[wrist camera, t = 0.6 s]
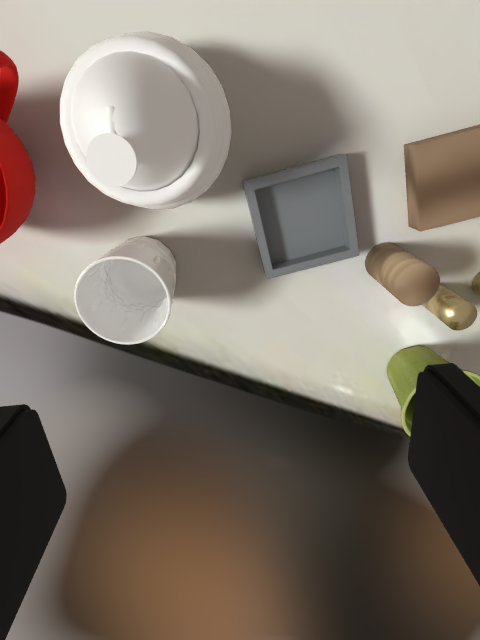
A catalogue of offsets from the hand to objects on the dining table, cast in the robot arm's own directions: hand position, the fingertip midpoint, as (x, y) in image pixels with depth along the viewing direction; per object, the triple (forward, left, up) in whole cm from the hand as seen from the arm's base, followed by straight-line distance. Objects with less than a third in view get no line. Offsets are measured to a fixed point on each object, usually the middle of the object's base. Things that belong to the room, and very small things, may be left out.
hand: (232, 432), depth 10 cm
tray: (+2, +7, -32) cm, 33 cm away
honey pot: (-9, -4, -33) cm, 34 cm away
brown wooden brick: (+2, +23, -33) cm, 40 cm away
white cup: (+3, -10, -33) cm, 34 cm away
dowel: (+9, +15, -32) cm, 37 cm away
